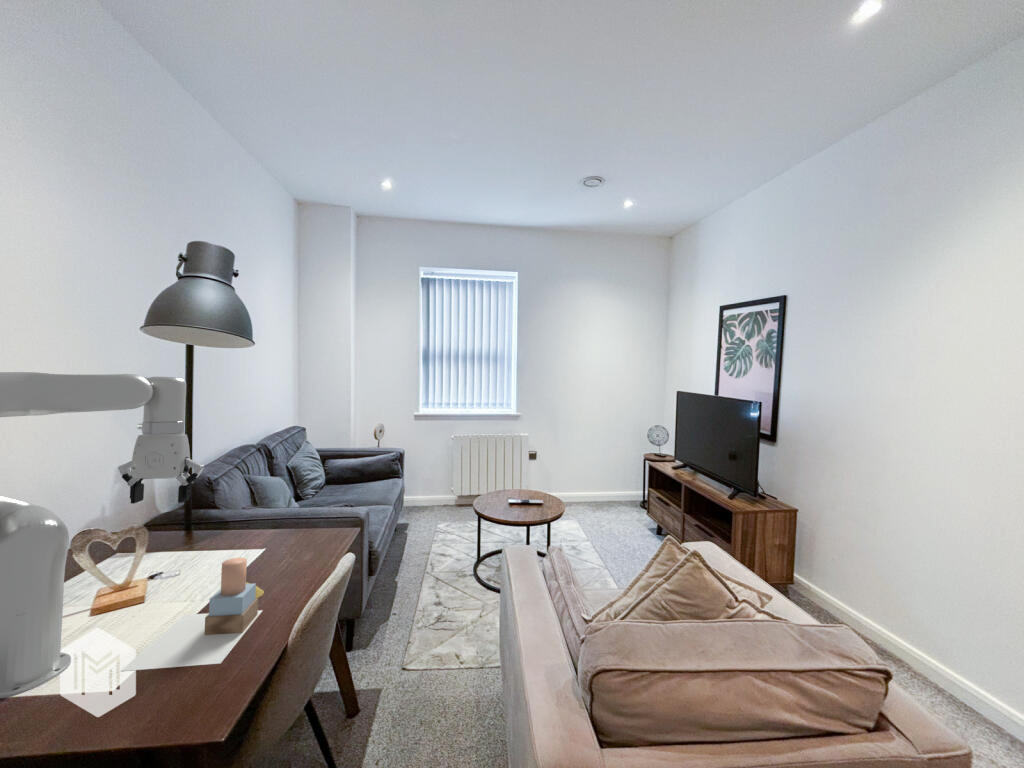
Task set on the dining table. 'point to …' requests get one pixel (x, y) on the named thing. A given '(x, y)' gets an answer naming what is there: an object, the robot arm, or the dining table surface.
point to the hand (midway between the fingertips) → (160, 501)
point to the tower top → (232, 602)
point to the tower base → (231, 621)
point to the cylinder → (233, 576)
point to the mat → (186, 646)
